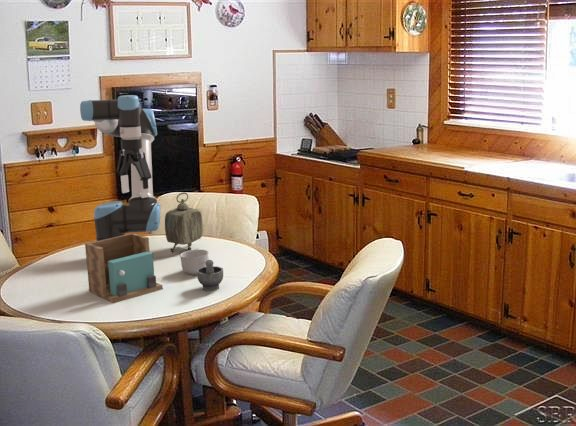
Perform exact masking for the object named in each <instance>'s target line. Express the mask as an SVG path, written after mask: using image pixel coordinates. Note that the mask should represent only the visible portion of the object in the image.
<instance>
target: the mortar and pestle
mask: <svg viewBox="0 0 576 426" xmlns="http://www.w3.org/2000/svg"><path fill="white" fill-rule="evenodd" d="M196 277H197V281H198V282H199V283H200V285H202V290H203V291H205V292H215V291H218V290H220V284H221V283H222V281H223V279H224V268H223V267H221V266H217V265H216V266H215V265H214V260H212V259H209V260H207V261H206V267H202V268H199V269H197V275H196Z"/></svg>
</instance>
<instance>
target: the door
mask: <svg viewBox="0 0 576 426" xmlns="http://www.w3.org/2000/svg"><path fill="white" fill-rule="evenodd" d="M108 267H109V279H110V291H111V294H112V295H114V296H118V287H117V285H121V284H124V283H125V284H126V285H127V293H129V292H133V291H136V290H140V289H143V288H147V287H148V284H147V277H150V276H155V267H154V254H153V252H151V251H150V252H143V253H139V254H135V255H131V256H127V257H123V258H119V259H115V260H110V261H108Z"/></svg>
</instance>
